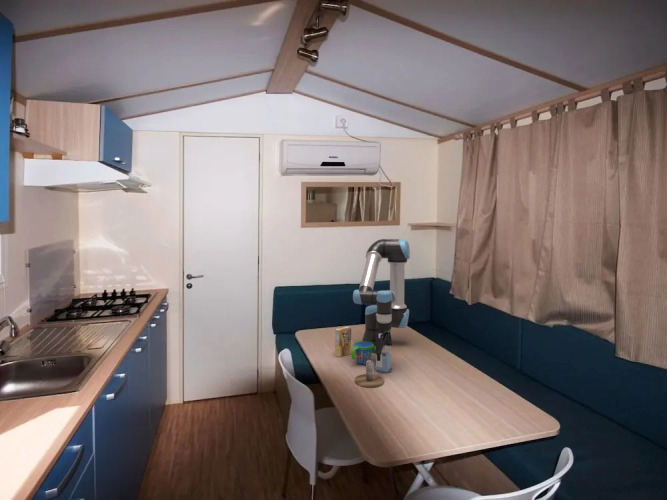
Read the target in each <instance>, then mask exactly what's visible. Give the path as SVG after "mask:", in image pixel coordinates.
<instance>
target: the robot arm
mask: <svg viewBox="0 0 667 500" xmlns="http://www.w3.org/2000/svg"><path fill="white" fill-rule="evenodd" d="M410 254H411V252H410V245H409V242H408V240H407V239H403V238H402V239H401V238H400V239H399V238H396V239H395V238H393V239H392V238H387V239H385V238H381V239H378V240H376V241H375V242H373V243H371V245H370V246H369V248H367V250H366V253H365V264H364V268H363V273H362V275H361V279H360V284H359V288H358V289H355V290H353V294H352V300H353V303H354V304H356V305H357V304H358V305H368V306H366V307H365V312H364V315H365V318H364V321H365V322H364V323H365V325H364V327H365V328H364V329H365V330H364V333H363V336H362V337H361V338H362V340H361V341H366V342H371V343H373V344H374V347H375V353H374V355H375V367H376V366H377V367H382V354H381V353H383V348H384V347H385V348H384V350H385V351H384V353H387V354H391V353H392V352H391V346H393V339H392V334H391V330H392V329H393V328H395V329H405V328H407V326H408V323H409V316H410V309H409V308H408V307H407V305H406V304H405V265H406V264H407V263H408V260H410V258H411V255H410ZM382 259H387V263H388V264H389V289H387V290H374V286H375V284H376V278H377V273H378V269H379V265H380V262H382ZM384 345H385V346H384ZM391 355H392V354H391Z"/></svg>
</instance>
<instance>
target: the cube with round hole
mask: <svg viewBox="0 0 667 500" xmlns="http://www.w3.org/2000/svg"><path fill="white" fill-rule="evenodd" d="M381 354H382V367H377V366H376V365H375V367H376V370H379V371H385V372H388V371H389V370H390V369H391V368H392V354H387V353H385V352H382V353H381Z"/></svg>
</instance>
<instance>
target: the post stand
mask: <svg viewBox="0 0 667 500" xmlns="http://www.w3.org/2000/svg"><path fill="white" fill-rule="evenodd" d="M354 382H355V384H356V385H357V386H359V387H362V388H369V389H374V388H379V387H382V386H383V385H385V379H384V378H383V376H381V375H378V374H374V361H373V360H372V359H371V360H368V361H366V364H365V373H364V374H359V375H357V376H355V378H354Z"/></svg>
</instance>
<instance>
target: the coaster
mask: <svg viewBox="0 0 667 500" xmlns="http://www.w3.org/2000/svg"><path fill="white" fill-rule="evenodd" d="M374 371H375V372H376V373H379V374H390V373H392V372H393V367H391V369H390V370H389V371H388V372H385V371H379V370H376V366H375V367H374Z"/></svg>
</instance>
